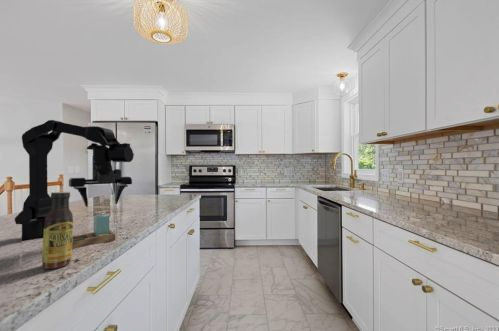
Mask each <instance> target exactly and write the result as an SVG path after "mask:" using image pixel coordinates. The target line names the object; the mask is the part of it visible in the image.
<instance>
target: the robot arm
mask: <svg viewBox="0 0 499 331" xmlns="http://www.w3.org/2000/svg"><path fill="white" fill-rule="evenodd" d="M62 133H63V134H68V135H74V136H78V137H82V138H84V139H85V140H88V141H91V142H92V143H91V144H90V145H88V146H87V147H86V149H87V150H89V151H90V150H91V151H92V179H90V178H89V179H88V178H87V179H86V178H85V177H70V178H69V180H68V187H71V188H73V190H77V191H78V193H79V195H80V196H81V199H82V201H83V203H84V206H85V207H86V208H88V205H89V201H88V195H87V194H88V193H87V188H88V187H87V186H86V185H103V184H105V185H106V184H107V185H108V184H109V185H110V184H115V192H114V193H115V194H114V204H116V205H117V204H119V200H120V197H121V195H122V193H123V190H124V189H125V188H126V187H129V185H133V179H132V177H130V176H122V170H121V169H119V168H117V169H116V168H115V169H113V165H112V162H113V163H131V162H132V161H133V159H134V156H135V155H134V154H135V153H134V151H133V148H132V147H131V144H130V143H128V142H123V143H120V142H119V140H118V139H117V138H116V135H115V133H114V131H113V130H112V129H109V128H105V127H102V126H95V125H94V126H93V125H92V126H91V125H90V126H81V125H76V124H72V123H66V122H62V121H60V120H54V119H48V120H46V121H45V122H43V123H42V124H38V125H36V126H33V127H31V128H30V129H28V130H27V131H24V133H22V134H21V135H22V136H21V142H22V148H23V149H24V151H26V153H27V155H28V162H29V163H28V166H29V167H28V170H29V171H28V173H29V174H28V177H29V178H28V181H29V182H28V183H29V188H28V189H29V191H28V192H29V195H28V196H27V197H26V198H25V200H24V202H23V206H22V210H21V211H20V212H19V213H18V214H17V215H16V217H14V222H15V225H21V237H20V238H21V239H20V242H21V243H22V242H26V241H33V240H38V239H43V235H44V227H45V218H46V216H47V215H48V213H49V212H50V210H51V205H52V198H51V195H50V194H49V193H48V192H49V191H48V155H49V153H50V152H51V151H52V150H53V145H54V143H55V142H56V141H57V140H59V138H60V136H61V134H62Z"/></svg>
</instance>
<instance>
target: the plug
mask: <svg viewBox="0 0 499 331" xmlns="http://www.w3.org/2000/svg"><path fill="white" fill-rule="evenodd" d="M109 230H110V215H109V214H106V213H105V214H98V215H94V216H93V232H94V237H97V236H98V235H102V234H109Z"/></svg>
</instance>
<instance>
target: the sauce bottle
mask: <svg viewBox="0 0 499 331" xmlns="http://www.w3.org/2000/svg"><path fill="white" fill-rule="evenodd" d="M50 197H51V198H52V205H51V210H50V212H49V213H48V215H47V216H46V218H45V227H44V235H43V238H42V250H41V252H42V254H41V262H42V264H41V267H42V269H44V270H54V269H60V268H62V267H65V266H68V265H69V264H70V263H71V261H72V260H71V259H72V256H73V248H72V239H73V236H74V235H73V234H74V216H73V213H72V211H71V209H70V198H71V192H70V191H53V192H51V193H50Z"/></svg>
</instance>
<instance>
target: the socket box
mask: <svg viewBox="0 0 499 331" xmlns="http://www.w3.org/2000/svg"><path fill="white" fill-rule="evenodd" d="M92 232H93V233H89V232H86V233H87V234H83V233H80V234H76V235H73V239H72V249H77V248H82V247H88V246H93V245H97V244H102V243H108V242H113V241H116V233H115V232H113V231H112V230H111V229H109V234H102V235H98V236H97V237H94V231H92Z"/></svg>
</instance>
